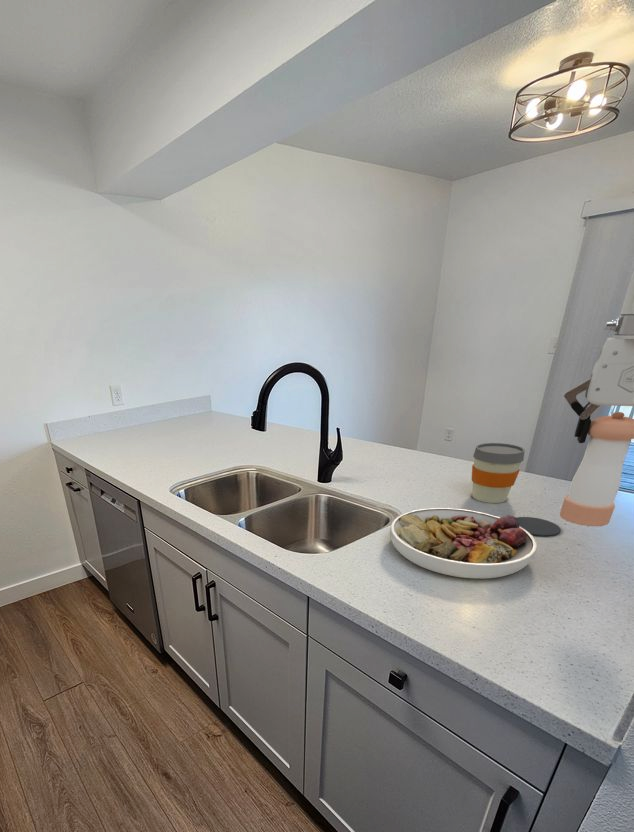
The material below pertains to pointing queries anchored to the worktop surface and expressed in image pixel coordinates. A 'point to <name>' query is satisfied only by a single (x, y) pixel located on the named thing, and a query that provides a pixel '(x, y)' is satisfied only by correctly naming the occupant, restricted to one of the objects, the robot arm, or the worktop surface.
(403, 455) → the worktop surface
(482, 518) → the bowl
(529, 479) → the worktop surface
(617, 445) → the salt shaker
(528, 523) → the coaster
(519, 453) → the reusable coffee cup
